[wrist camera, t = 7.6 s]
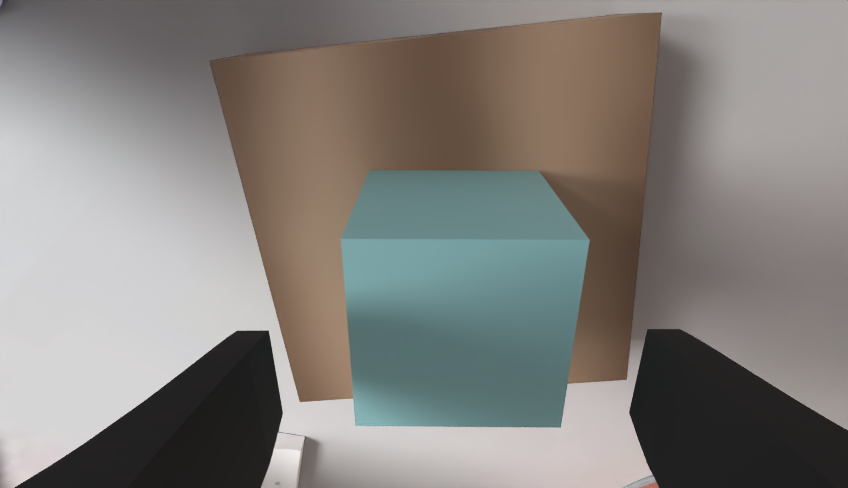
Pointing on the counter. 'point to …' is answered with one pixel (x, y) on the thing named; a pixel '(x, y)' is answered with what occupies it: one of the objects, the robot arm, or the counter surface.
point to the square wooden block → (444, 159)
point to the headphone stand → (285, 462)
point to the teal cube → (461, 298)
